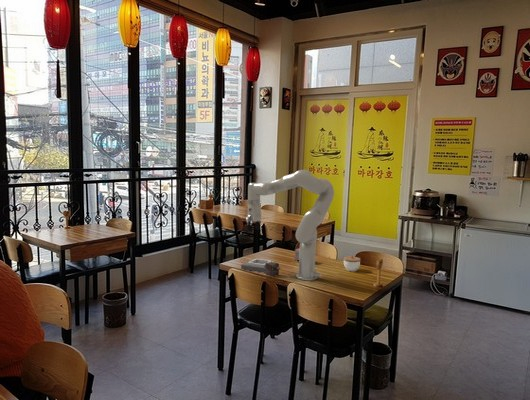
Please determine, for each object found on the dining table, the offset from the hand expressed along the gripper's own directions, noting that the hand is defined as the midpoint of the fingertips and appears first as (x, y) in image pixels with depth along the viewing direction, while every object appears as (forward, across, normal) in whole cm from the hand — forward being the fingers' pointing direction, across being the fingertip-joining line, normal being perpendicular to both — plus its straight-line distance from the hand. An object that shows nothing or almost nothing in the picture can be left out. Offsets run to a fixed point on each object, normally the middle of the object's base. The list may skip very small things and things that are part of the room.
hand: (253, 230), depth 252 cm
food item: (+26, +38, -19) cm, 50 cm away
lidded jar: (+26, +34, -53) cm, 68 cm away
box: (+26, -4, -15) cm, 30 cm away
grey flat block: (+25, +5, -2) cm, 26 cm away
